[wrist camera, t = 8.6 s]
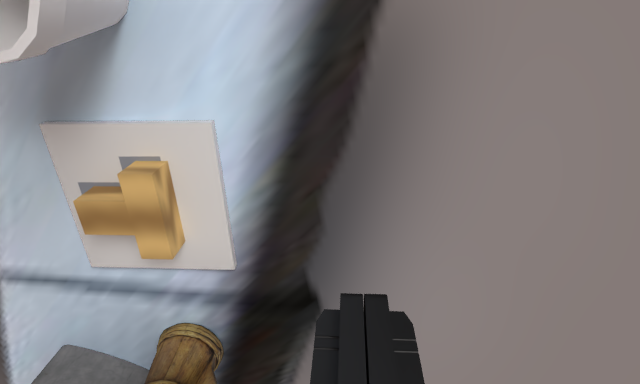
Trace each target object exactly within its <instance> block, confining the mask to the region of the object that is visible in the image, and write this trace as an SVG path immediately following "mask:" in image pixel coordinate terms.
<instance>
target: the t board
mask: <svg viewBox="0 0 640 384" xmlns="http://www.w3.org/2000/svg"><path fill="white" fill-rule="evenodd" d="M39 126H40V129H41V131H42V134H43V137H44V139H45V142H46V145H47V148H48V150H49V153H50V156H51V158H52V161H53V164H54V167H55V169H56V172H57V175H58V177H59V180H60V183H61V185H62V188H63V191H64V194H65V196H66V199H67V202H68V204H69V207H70V210H71V213H72V215H73V218H74V221H75V223H76V226H77V229H78V231H79V234H80V237H81V240H82V242H83V245H84V248H85V250H86V253H87V256H88V258H89V261H90V264H91V267H124V268H169V269H215V270H235V268H236V266H237V262H236V256H235V249H234V243H233V237H232V230H231V224H230V217H229V211H228V205H227V198H226V192H225V185H224V179H223V173H222V166H221V160H220V153H219V147H218V141H217V134H216V128H215V121H214V120H186V121H70V122H44V123H41V124H39ZM135 161H168V164H169V169H170V173H171V178H172V182H173V187H174V192H175V196H176V201H177V205H178V210H179V214H180V219H181V223H182V228H183V232H184V237H185V243H184V244H183V246H182V247H181V248H180V250H179V251H178V253H177V254H176V256H175V257H174V259H173V260H171V259H141V255H140V252H139V248H138V245H137V241H136V238H135V235H85V233H84V231H83V228H82V225H81V222H80V220H79V217H78V214H77V211H76V208H75V206H74V203H73V201H74V200H75V199H77V198H78V197H80V196H81V195H82V194H84V193H85V192H87V191H88V190H89V189H91V188H92V187H94V186H120V183H119V179H118V176H117V174H118V173H120V172H121V171H122V170H124V169H125V168H126V167H128V166H129V165H131V164H132V163H133V162H135Z"/></svg>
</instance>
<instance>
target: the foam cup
mask: <svg viewBox="0 0 640 384" xmlns="http://www.w3.org/2000/svg"><path fill="white" fill-rule="evenodd" d="M128 4H129V0H0V64H3V63H8V62H14V61H20V60H23V59H27V58H31V57H35V56H39V55H42V54H45V53H46V52H47V51H48V50H49V49H50V48H53V47H55V46H58V45H61V44H63V43H66V42H69V41H72V40H74V39H77V38H80V37H82V36H85V35H88V34H91V33H93V32H96V31H99V30H101V29H104V28H107V27H110V26H112V25H114V24H117V23H118V22H119V21H120V20H121V19H122V17H123V16H124V15H125V14H126V13H127V8H128Z"/></svg>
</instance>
